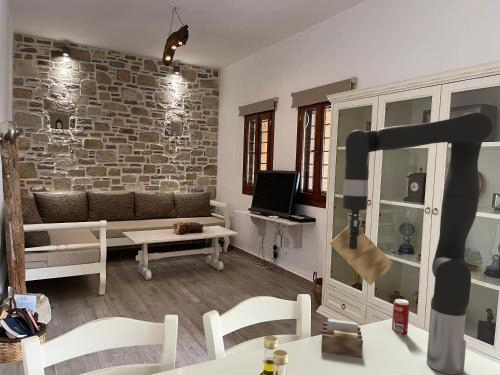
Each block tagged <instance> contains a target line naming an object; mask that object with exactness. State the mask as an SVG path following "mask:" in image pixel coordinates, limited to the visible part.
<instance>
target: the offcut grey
mask: <svg viewBox="0 0 500 375" xmlns="http://www.w3.org/2000/svg"><path fill="white" fill-rule="evenodd" d="M327 323H328V326H327V331H333V332H334V330H340V331H348V332H355V333H357V327H358V322H355V321H349V320H347V321H346V320H340V319H332V318H327Z"/></svg>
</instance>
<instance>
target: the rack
mask: <svg viewBox="0 0 500 375" xmlns="http://www.w3.org/2000/svg"><path fill="white" fill-rule="evenodd" d="M327 326H328V322H324V321H323V322H322V331H321V348H320V349H321V351H320V352H321V353H324V354H331V355H339V356H345V357H351V358H356V359H357V358H358V359H363V346H364V345H363V343H364V340H363V335H362V331H361V327H360V326H357V334H358V339H354V338H347V337H340V336H334V332H333V331H327Z"/></svg>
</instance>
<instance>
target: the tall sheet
mask: <svg viewBox="0 0 500 375" xmlns="http://www.w3.org/2000/svg"><path fill="white" fill-rule="evenodd" d="M350 226H351V224H350ZM352 232H356V231H352ZM349 234H350V230H349V225H348V224H347V226H346V227H345V228H344V229H343V230H342V231H340V233H339V234H337V235H336V236H335V237H334V238H333V239H332V240H331V241H330V242H329V245H330V246H331V247H332V248H333V249H334V250H335V251H336V252H337V253H338V254H339V255H340V257H342V259H344V260H345V261H346V263H348V265H349V266H351V268H352V269H354V271H355V272H356V273H357V274H358V275H359V276H360V277H361V278H362V279H363V280H364V281H365V282H366V283H367V284H368V285H369V286H372V285H373V284H374V283H375V282H377V280H379V278H381V277H382V276H384V274H386V273H387V272H389V270H390V269H391V268H393V267H394V266H395V263H394V262H392V260H391V259H390V257H388V256H387V255H386V254H385V253H384V252H383V251H382V250H381V249H380V248H379V247H378V246H377V245H376V243H374V242H373V241H372V240H371V239H370V238H369V237H368V236H367V235H366V234H365V233H364V232H363V231H362V230H361V229H360V230H359V235H358V238H357V249H350V236H349Z"/></svg>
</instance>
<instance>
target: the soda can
mask: <svg viewBox="0 0 500 375" xmlns="http://www.w3.org/2000/svg"><path fill="white" fill-rule="evenodd" d="M392 308H393V309H392V323H391V330H392V331H393V332H396V333H398V334H401V336H402V338H405V337H407V336H408V328H409V320H410V319H409V318H410V317H409V316H410V304H409V301H408V300H406V299H402V298H395V299H394V302H393V306H392Z"/></svg>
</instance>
